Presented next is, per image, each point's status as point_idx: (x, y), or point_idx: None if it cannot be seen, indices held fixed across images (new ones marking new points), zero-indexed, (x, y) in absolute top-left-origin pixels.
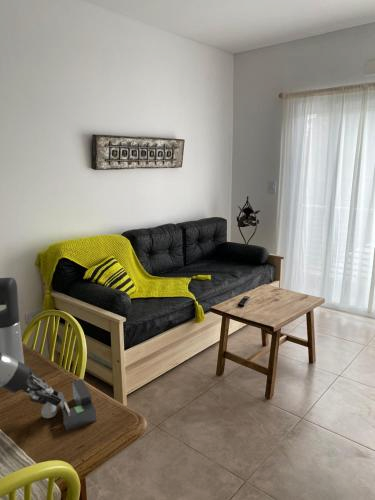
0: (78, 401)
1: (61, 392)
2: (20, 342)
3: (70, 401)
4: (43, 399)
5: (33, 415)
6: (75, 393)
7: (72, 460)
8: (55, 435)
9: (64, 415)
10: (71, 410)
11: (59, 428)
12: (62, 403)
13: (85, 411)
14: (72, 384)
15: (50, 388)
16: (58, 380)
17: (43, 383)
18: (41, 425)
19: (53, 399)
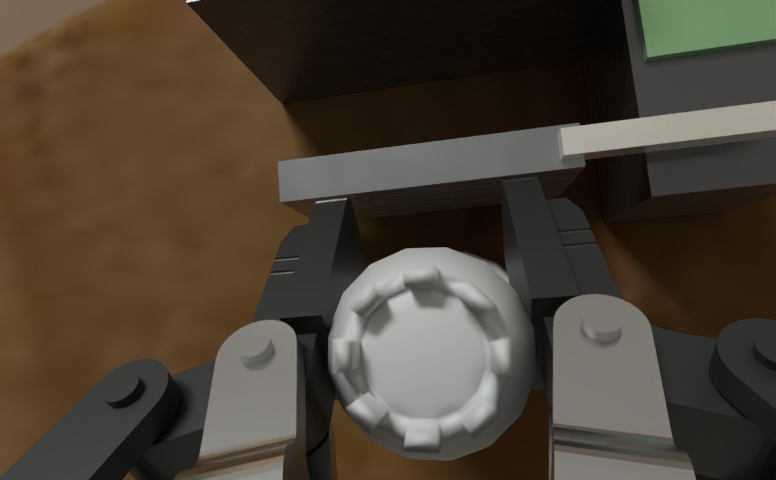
0: (473, 24)
1: (296, 165)
2: None
3: (303, 132)
4: (730, 473)
5: (364, 465)
6: (350, 27)
7: None
8: (757, 313)
9: (756, 183)
10: (687, 95)
11: (663, 266)
12: (510, 179)
13: None
14: (208, 22)
15: (381, 293)
16: None
17: (250, 424)
18: (548, 415)
19: (608, 277)
